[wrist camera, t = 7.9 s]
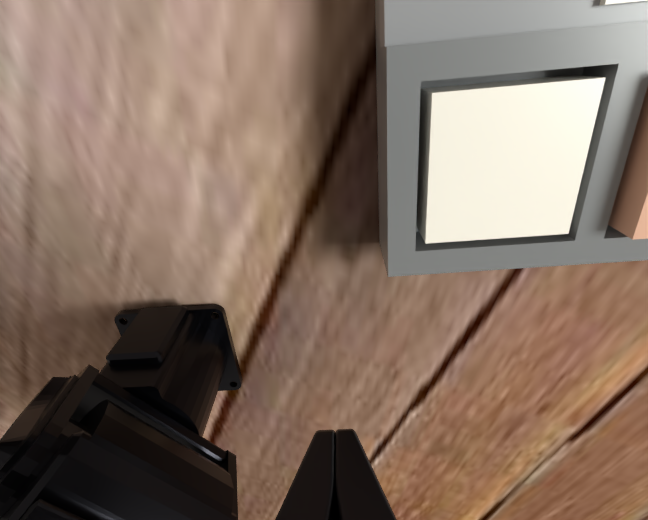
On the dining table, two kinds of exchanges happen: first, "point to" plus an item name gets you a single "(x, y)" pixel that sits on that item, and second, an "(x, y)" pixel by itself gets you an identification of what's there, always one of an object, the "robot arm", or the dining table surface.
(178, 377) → the robot arm
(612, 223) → the terracotta key
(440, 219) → the ivory key
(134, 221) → the dining table surface
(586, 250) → the keypad
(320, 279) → the dining table surface
